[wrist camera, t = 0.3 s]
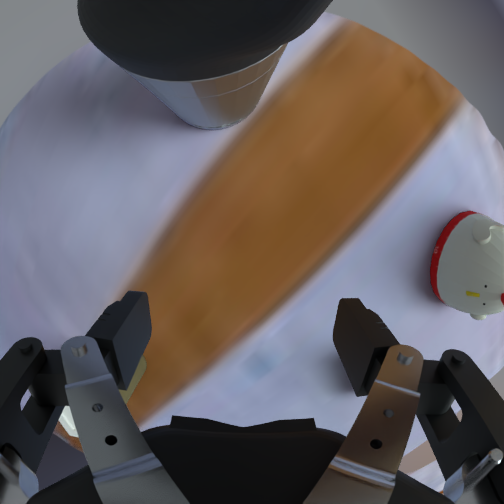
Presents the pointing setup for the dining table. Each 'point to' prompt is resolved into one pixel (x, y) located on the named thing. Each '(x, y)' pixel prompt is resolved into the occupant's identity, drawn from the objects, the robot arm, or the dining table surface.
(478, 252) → the kitchen timer
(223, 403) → the dining table surface
